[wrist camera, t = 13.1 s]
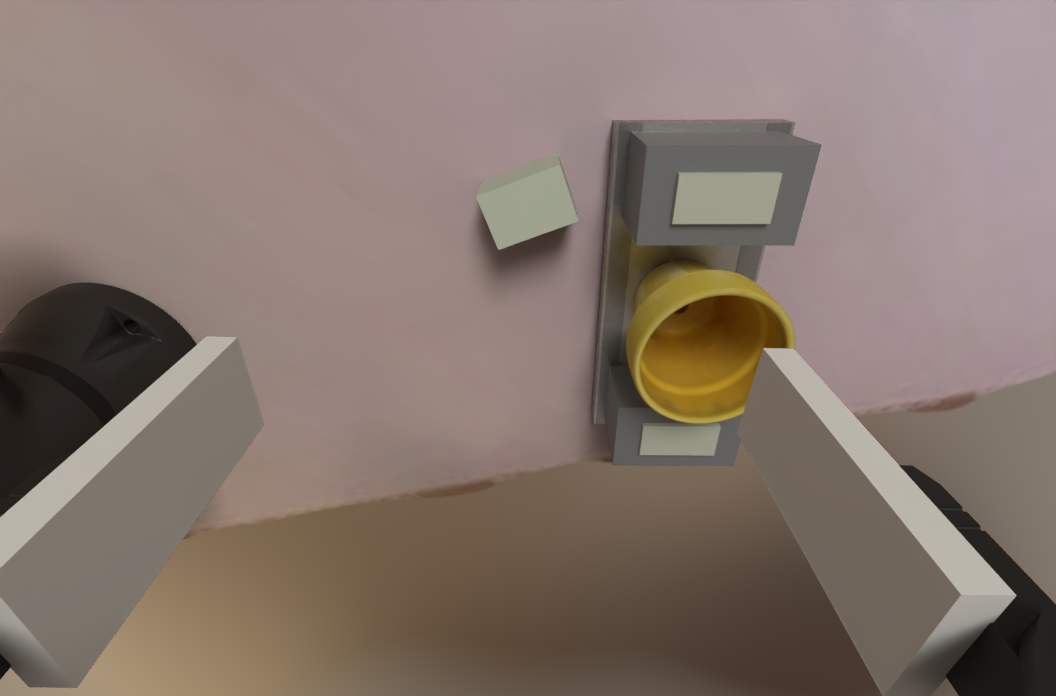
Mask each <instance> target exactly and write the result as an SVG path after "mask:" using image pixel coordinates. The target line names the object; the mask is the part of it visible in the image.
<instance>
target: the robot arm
mask: <svg viewBox="0 0 1056 696" xmlns="http://www.w3.org/2000/svg"><path fill="white" fill-rule="evenodd" d="M263 426H264V421H263V418H262V415H261V412H260V408H259V405H258V402H257V399H256V395H255V392H254V389H253V386H252V383H251V379H250V376H249V373H248V370H247V367H246V363H245V360H244V357H243V354H242V351H241V347H240V344H239V341H238V338H237V337H205V338H204V339H203V340H202V341H201V342H200V343H198V344H197V345H195V343H194V341H193V340H192V339H191V337H190V336H189V335H188V333H187V332H186V331H185V330H184V329H183V328H182V327H181V326H180V325H179V324H178V323H177V322H176V321H175V320H174V319H173V318H172V317H171V316H169V315H168V314H167V313H166V312H164V311H163V310H162V309H160V308H159V307H157V306H156V305H154V304H153V303H151V302H149V301H148V300H146V299H144V298H142V297H140V296H138V295H136V294H133V293H131V292H128V291H126V290H123V289H120V288H117V287H113V286H109V285H104V284H97V283H74V284H68V285H65V286H61V287H59V288H56V289H54V290H52V291H50V292H48V293H46V294H44V295H42V296H40V297H38V298H36V299H34V300H33V301H31V302H30V303H28V304H27V305H26V306H25V307H24V308H23V309H22V310H21V311H20V312H19V313H18V314H17V316H16V317H15V319H14V320H13V321H12V322H11V323H10V324H9V325H8V326H7V327H6V328H5V329H4V331H3V332H2V333H1V334H0V679H1V678H2V677H3V676H4V674H5V673H6V672H7V671H8V669H9V668H10V667H11V669H12V670H13V671H14V672H15V673H16V674H17V675H18V676H19V677H20V678H21V679H22V680H23V681H24V682H25V683H26V684H27V686H28V687H56V688H57V687H58V688H77V687H78V686H79V684H80V683H81V682H82V680H83V679H84V677H85V676H86V675H87V673H88V672H89V670H90V669H91V668H92V666H93V665H94V663H95V662H96V660H97V659H98V658H99V656H100V655H101V654H102V652H103V651H104V649H105V648H106V646H107V645H108V644H109V642H110V641H111V639H112V638H113V637H114V635H115V634H116V632H117V631H118V629H119V628H120V627H121V625H122V623H123V622H124V621H125V620H126V618H127V617H128V616H129V614H130V613H131V611H132V610H133V608H134V607H135V606H136V604H137V603H138V601H139V600H140V599H141V597H142V596H143V594H144V593H145V592H146V590H147V589H148V587H149V586H150V585H151V583H152V582H153V580H154V579H155V578H156V576H157V575H158V573H159V572H160V571H161V569H162V568H163V566H164V565H165V563H166V562H167V561H168V559H169V558H170V557H171V555H172V554H173V552H174V551H175V550H176V548H177V547H178V545H179V544H180V542H181V541H182V540H183V538H184V537H185V535H186V534H187V533H188V531H189V530H190V528H191V527H192V526H193V524H194V523H195V521H196V520H197V519H198V517H199V516H200V514H201V513H202V512H203V510H204V509H205V507H206V506H207V505H208V503H209V502H210V500H211V499H212V498H213V496H214V495H215V493H216V492H217V490H218V489H219V488H220V486H221V485H222V483H223V482H224V481H225V479H226V478H227V476H228V475H229V474H230V472H231V471H232V469H233V468H234V467H235V465H236V464H237V462H238V461H239V460H240V458H241V457H242V455H243V454H244V453H245V451H246V450H247V448H248V447H249V446H250V444H251V443H252V441H253V440H254V438H255V437H256V436H257V434H258V433H259V431H260V430H261V429H262V427H263ZM737 434H738V436H739V437H740V439H741V441H742V443H743V444H744V446H745V448H746V450H747V452H748V454H749V455H750V457H751V459H752V461H753V463H754V464H755V466H756V468H757V470H758V471H759V473H760V475H761V477H762V479H763V481H764V482H765V484H766V486H767V488H768V489H769V491H770V493H771V495H772V497H773V499H774V500H775V502H776V504H777V506H778V508H779V510H780V511H781V513H782V515H783V517H784V519H785V520H786V522H787V524H788V526H789V528H790V529H791V531H792V533H793V535H794V537H795V538H796V540H797V542H798V544H799V546H800V547H801V549H802V551H803V553H804V554H805V556H806V558H807V560H808V562H809V564H810V565H811V567H812V569H813V571H814V573H815V574H816V576H817V578H818V580H819V582H820V583H821V585H822V587H823V589H824V590H825V592H826V594H827V596H828V598H829V600H830V602H831V603H832V605H833V607H834V608H835V611H836V612H837V614H838V616H839V618H840V620H841V621H842V623H843V625H844V627H845V629H846V630H847V632H848V634H849V636H850V637H851V639H852V641H853V643H854V645H855V647H856V648H857V650H858V652H859V654H860V656H861V657H862V659H863V661H864V663H865V665H866V666H867V668H868V670H869V672H870V674H871V675H872V677H873V679H874V681H875V683H876V684H877V686H878V688H879V690H880V692H881V694H882V695H883V696H931V695H932V694H933V692H934V691H935V690H936V689H937V688H938V687H939V686H940V684H941V683H942V682H943V681H944V680H945V679H946V677H947V679H948V680H949V682H950V683H951V684H952V686H953V687H954V689H955V691H956V692H957V693H958V695H959V696H1056V604H1055V603H1054V602H1053V601H1052V600H1051V599H1050V598H1049V597H1048V596H1047V595H1046V594H1045V593H1044V592H1043V591H1042V590H1041V589H1040V588H1039V587H1038V585H1036V583H1034V581H1033V580H1032V579H1031V578H1030V577H1029V576H1028V575H1027V574H1026V573H1025V572H1024V571H1023V570H1022V569H1021V568H1020V567H1019V566H1018V565H1017V564H1016V563H1015V562H1014V561H1013V559H1012V558H1011V557H1010V556H1009V555H1008V554H1007V553H1006V552H1005V551H1004V550H1003V549H1002V548H1001V547H1000V546H999V545H998V544H997V543H996V542H995V541H994V540H993V539H992V538H991V537H990V536H989V534H988V533H987V532H986V531H981V529H980V525H979V524H978V523H977V522H976V521H975V520H974V519H973V518H972V517H971V516H970V515H969V514H968V513H967V512H963V510H962V506H961V505H960V504H959V503H958V502H957V501H956V500H955V499H954V498H953V497H952V496H951V495H950V494H949V493H948V492H947V491H946V490H945V489H944V488H943V487H942V486H941V485H940V484H939V483H937V482H936V481H934V480H933V479H931V478H930V477H928V476H927V475H925V474H924V473H922V472H921V471H920V470H918V469H917V468H915V467H914V466H903V465H898V464H897V463H896V462H895V461H894V459H893V458H892V457H891V456H890V455H889V454H888V453H887V452H886V451H885V449H884V448H883V447H882V446H881V445H880V444H879V443H878V442H877V441H876V440H875V438H874V437H873V436H872V435H871V434H870V433H869V432H868V431H867V430H866V429H865V427H864V426H863V425H862V424H861V423H860V422H859V421H858V420H857V419H856V417H855V416H854V415H853V414H852V413H851V412H850V411H849V410H848V409H847V407H846V406H845V405H844V404H843V403H842V402H841V401H840V400H839V399H838V397H837V396H836V395H835V394H834V393H833V392H832V391H831V390H830V389H829V388H828V386H827V385H826V384H825V383H824V382H823V381H822V380H821V379H820V378H819V376H818V375H817V374H816V373H815V372H814V371H813V370H812V369H811V368H810V367H809V365H808V364H807V363H806V362H805V361H804V360H803V359H802V358H801V357H800V355H799V354H798V353H797V352H796V351H795V350H794V349H785V348H763V350H762V353H761V356H760V360H759V363H758V366H757V370H756V373H755V376H754V379H753V383H752V386H751V389H750V392H749V396H748V399H747V402H746V405H745V409H744V412H743V415H742V419H741V422H740V425H739V428H738V432H737Z"/></svg>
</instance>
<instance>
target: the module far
mask: <svg viewBox="0 0 1056 696" xmlns="http://www.w3.org/2000/svg"><path fill="white" fill-rule="evenodd" d="M742 415H743V414H741V415H739V416H737V417H734V418H731V419H728V420H724V421H720V422H715V423H706V424H693V423H684V422H679V421H676V420H672V419H669V418H667V417H665V416H663V415H661V414H659V413H657V412H656V411H654V410H653V409H652V408H651V407H649V406H648V405H647V404H646V403H645V402H644V400H643V399H642V398H641V396H640V394H639V393H638V391H637V389H636V387H635V384H634V381H633V378H632V375H631V372H630V368H629V366H610V367H609V378H608V389H607V400H606V411H605V425H606V430H607V436H608V441H609V447H610V452H611V458H612V464H613V465H674V466H676V465H677V466H684V465H685V466H733V465H734V462H735V458H736V455H737V451H738V447H739V444H740V440H741V439H740V437H739V436H738V434H737V432H738V428H739V425H740V422H741V419H742Z"/></svg>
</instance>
